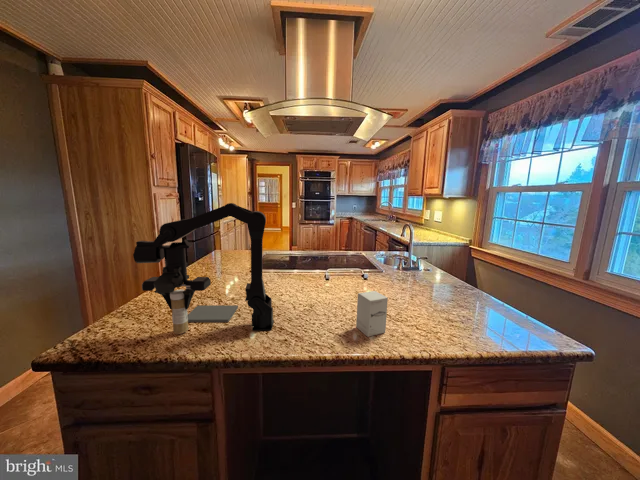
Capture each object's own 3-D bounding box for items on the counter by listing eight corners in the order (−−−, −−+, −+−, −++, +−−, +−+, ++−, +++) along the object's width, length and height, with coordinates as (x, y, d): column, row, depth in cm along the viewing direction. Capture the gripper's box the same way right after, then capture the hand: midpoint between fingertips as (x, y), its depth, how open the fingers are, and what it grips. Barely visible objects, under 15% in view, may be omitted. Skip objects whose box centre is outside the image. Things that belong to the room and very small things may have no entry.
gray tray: (238, 307, 100) (237, 305, 100) (228, 322, 89) (228, 319, 88) (197, 307, 100) (197, 305, 100) (182, 322, 88) (182, 319, 88)
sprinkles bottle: (177, 327, 83) (173, 289, 81) (191, 326, 84) (188, 288, 81) (170, 334, 79) (166, 294, 76) (185, 334, 79) (182, 294, 77)
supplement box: (367, 337, 80) (369, 300, 78) (355, 327, 87) (357, 292, 85) (386, 333, 83) (388, 297, 81) (373, 323, 90) (374, 289, 88)
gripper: (126, 269, 69) (131, 321, 72) (194, 269, 70) (197, 320, 72) (151, 259, 80) (155, 305, 83) (209, 259, 81) (212, 304, 83)
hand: (179, 309), depth 80 cm, fingers closed on sprinkles bottle, 4 cm apart
